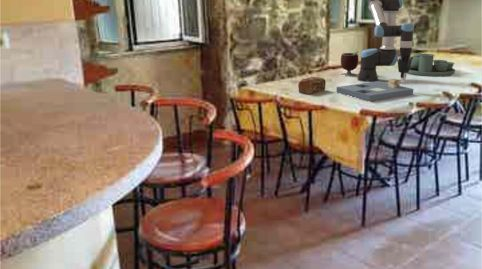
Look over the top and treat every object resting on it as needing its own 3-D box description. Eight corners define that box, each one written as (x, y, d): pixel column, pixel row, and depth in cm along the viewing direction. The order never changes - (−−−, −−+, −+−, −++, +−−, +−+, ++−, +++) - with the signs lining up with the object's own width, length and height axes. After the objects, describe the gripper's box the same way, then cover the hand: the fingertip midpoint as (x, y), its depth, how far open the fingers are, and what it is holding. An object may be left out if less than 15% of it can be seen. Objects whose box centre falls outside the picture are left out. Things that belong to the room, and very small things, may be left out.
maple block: (393, 85, 324) (394, 78, 322) (399, 87, 320) (399, 79, 318) (388, 86, 322) (388, 79, 320) (393, 87, 317) (394, 80, 316)
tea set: (462, 76, 376) (465, 55, 371) (412, 77, 376) (414, 56, 371) (442, 68, 414) (444, 49, 409) (396, 69, 414) (398, 50, 409)
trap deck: (378, 86, 342) (378, 81, 340) (412, 94, 315) (413, 88, 313) (336, 92, 324) (336, 86, 323) (369, 101, 298) (369, 95, 296)
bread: (309, 95, 320) (310, 80, 317) (297, 92, 327) (297, 78, 324) (326, 90, 332) (326, 76, 329) (313, 88, 340) (314, 74, 337)
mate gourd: (336, 75, 389) (337, 50, 384) (347, 73, 397) (349, 48, 392) (351, 77, 378) (352, 52, 372) (362, 75, 386) (364, 50, 380)
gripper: (408, 46, 322) (405, 80, 329) (394, 47, 316) (391, 82, 323) (417, 47, 316) (414, 82, 323) (403, 48, 310) (400, 84, 317)
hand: (402, 82), depth 323 cm, fingers closed
